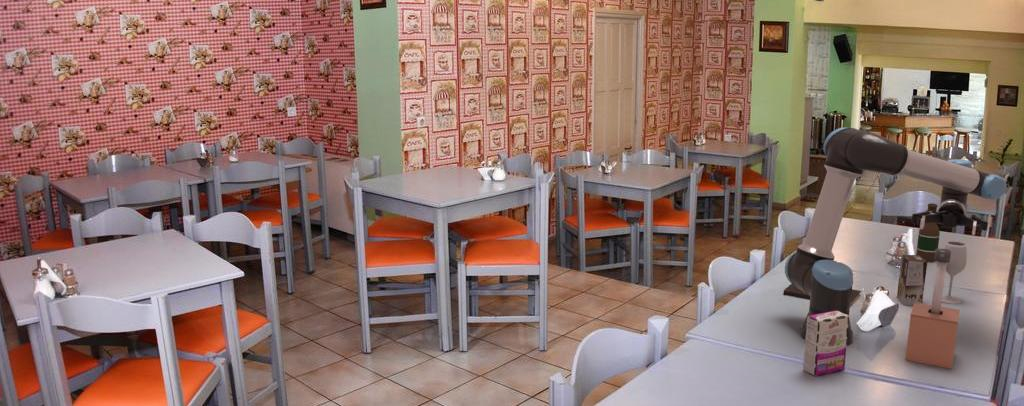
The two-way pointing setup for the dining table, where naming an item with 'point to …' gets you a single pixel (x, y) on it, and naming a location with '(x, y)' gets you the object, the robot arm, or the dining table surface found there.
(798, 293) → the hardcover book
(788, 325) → the dining table surface
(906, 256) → the coffee box
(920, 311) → the slotted cardboard box
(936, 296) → the pump plunger
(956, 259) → the wineglass
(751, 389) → the dining table surface
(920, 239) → the beer bottle
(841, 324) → the candy bar box
